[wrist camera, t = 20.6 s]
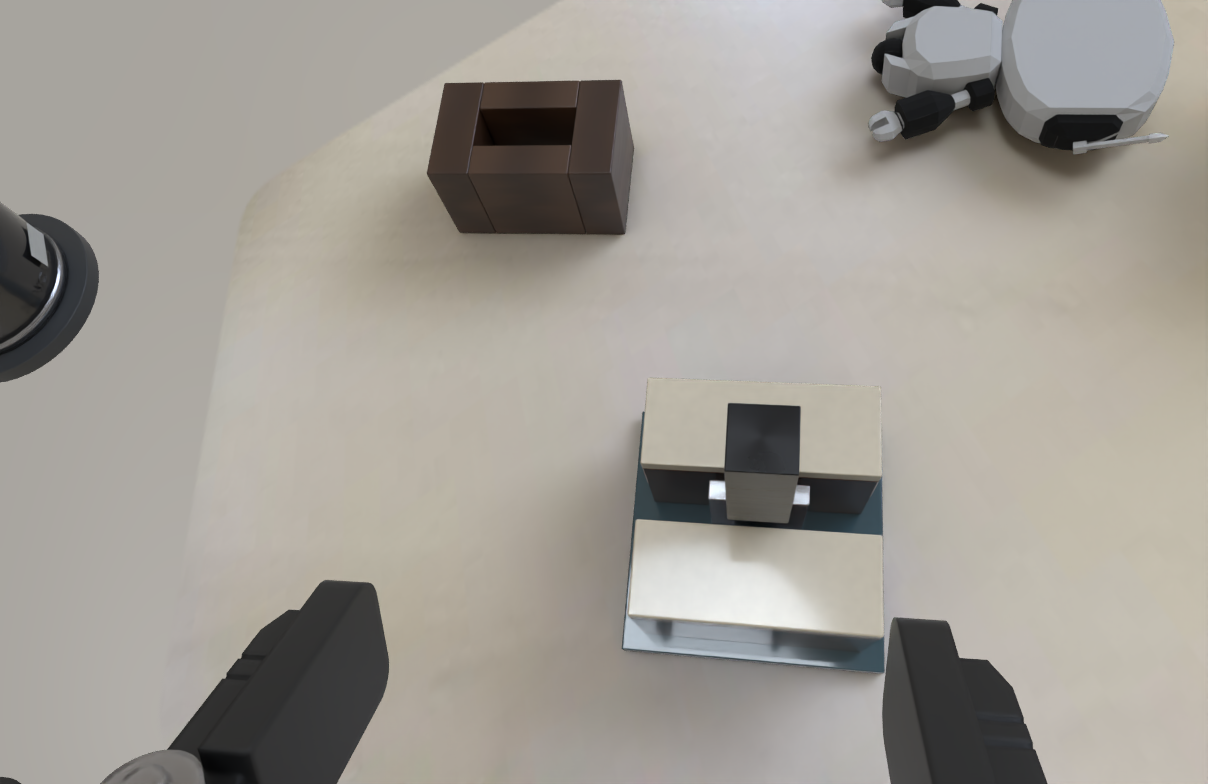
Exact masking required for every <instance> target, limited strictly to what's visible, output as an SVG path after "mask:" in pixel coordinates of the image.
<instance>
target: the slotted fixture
mask: <svg viewBox="0 0 1208 784" xmlns="http://www.w3.org/2000/svg"><path fill="white" fill-rule="evenodd" d="M728 403H745V404H768V405H791V406H800V407H801V423H800V468H799V478H798V482H797V485H803V486H810V504H809V508H808V511H807V514H806V518H805V521H804V524H803V528H802V530H797V529H781V528H766V527H751V526H736V525H720V524H712V522H711V515H710V508H709V500H708V493H709V481H710V480H717V481H725V475H724V464H725V445H726V427H727V408H728ZM622 649H623V650H624V651H633V652H644V653H655V654H666V655H677V656H688V657H699V658H710V659H721V660H732V661H743V662H754V663H765V664H775V665H786V666H797V667H808V668H819V669H830V670H841V671H852V672H863V673H874V674H882V673H884V672H885V668H884V587H883V507H882V426H881V387H880V386H857V385H831V384H804V383H778V382H752V381H726V380H700V379H673V378H648V381H647V392H646V404H645V412H643V413H642V424H641V436H640V447H639V458H638V470H637V481H636V492H635V504H634V515H633V526H632V538H631V549H630V560H629V572H628V583H627V595H626V606H625V617H624V629H623V640H622Z"/></svg>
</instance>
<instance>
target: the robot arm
mask: <svg viewBox="0 0 1208 784" xmlns="http://www.w3.org/2000/svg"><path fill="white" fill-rule="evenodd" d="M67 282H68V262H67V258H66V256H65V253H64V251H63V249H62V248H61V246H60V245H59V244H58V243H57V242H56V241H55V240H54V239H53V238H52V237H50V236H49V235H48V234H46V233H45V232H43V231H42V230H40V229H38V228H36V227H34V226H32V225H31V224H30V223H28V222H27V221H25V220H24V219H23V218H21V217H20V216H19V215H17V214H16V213H14V212H13V211H12V210H10V209H9V208H8V207H6V206H5V205H4V204H2V203H1V202H0V355H1V354H4V353H6V352H9V351H11V350H13V349H15V348H17V347H19V346H21V345H22V344H24V343H25V342H27V341H28V340H30V339H31V338H32V337H33V336H35V335H36V334H37V333H38V332H39V331H40V330H41V329H42V328H43V327H44V326H45V325H46V324H47V323H48V321H49V320H50V319H51V318H52V316H53V315H54V313H55V312H56V310H57V309H58V307H59V305H60V303H61V301H62V299H63V296H64V294H65V290H66V287H67ZM388 673H389V658H388V652H387V646H386V641H385V636H384V630H383V625H382V619H381V614H380V609H379V603H378V598H377V593H376V590H375V588H374V586H373V585H372V584H371V583H366V582H350V581H334V580H325V581H323V582H321V583H320V584H319V585H318V586H317V588H316V589H315V590H314V592H313V593H312V594H311V596H310V597H309V599H308V600H307V601H306V603H305V604H304V605H303V607H302V608H301V609H300V610H288V611H286V612H285V613H284V614H282V615H281V616H279V617H278V618H277V619H275V620H274V621H272V622H271V623H270V624H268V625H267V626H265V627H264V628H263V629H261V630H260V631H259V633H258V634H257V635H256V636H255V638H254V639H253V640H252V642H251V643H250V644H249V645H248V647H247V648H246V649H245V651H244V652H243V653H242V658H241V659H238V660H237V661H236V662H235V663H234V665H233V666H232V667H231V668H230V670H229V671H228V672H227V676H226V679H222V680H221V681H220V683H219V684H218V685H217V686H216V688H215V689H214V690H213V692H212V693H211V694H210V695H209V697H208V698H207V699H206V701H205V702H204V703H203V704H202V706H201V707H200V708H199V709H198V711H197V712H196V713H195V715H194V716H193V717H192V718H191V720H190V721H189V722H188V724H187V725H186V726H185V727H184V729H183V730H182V731H181V733H180V734H179V735H178V736H177V738H176V739H175V740H174V742H173V743H172V744H171V745H170V747H169V748H168V749H167V750H161V751H156V752H152V753H149V754H146V755H142V756H140V757H138V758H136V759H133V760H131V761H129V762H128V763H126V764H124V765H122V766H121V767H119V768H118V769H116V770H115V771H114V772H112V773H111V774H110V775H109V776H107V778H105V779H104V780H103V781H102V783H100V784H337V782H338V780H339V778H340V776H341V774H342V773H343V771H344V769H345V767H346V765H347V763H348V761H349V759H350V758H351V756H352V754H353V752H354V750H355V748H356V746H357V745H358V743H359V741H360V739H361V737H362V735H363V733H364V731H365V730H366V728H367V726H368V724H369V722H370V720H371V718H372V716H373V715H374V713H375V711H376V709H377V707H378V705H379V703H380V701H381V699H382V697H383V695H384V692H385V689H386V685H387V680H388ZM882 719H883V736H884V745H885V751H886V757H887V763H888V769H889V775H890V781H891V784H1047V781H1046V778H1045V776H1044V773H1043V770H1042V767H1041V765H1040V762H1039V759H1038V756H1037V754H1036V751H1035V750H1034V749H1033V742H1032V740H1031V737H1030V734H1029V731H1028V729H1027V726H1026V724H1024V718H1023V715H1022V712H1021V709H1020V707H1019V704H1018V701H1017V698H1016V695H1015V693H1014V690H1013V687H1012V686H1011V685H1010V684H1009V683H1008V682H1007V681H1006V680H1005V679H1004V678H1003V677H1002V675H1001V674H1000V673H999V672H998V671H997V670H996V669H995V668H994V667H993V666H992V665H991V663H990V662H989V661H988V660H979V659H965V658H959V656H958V652H957V649H956V646H955V642H954V639H953V636H952V632H951V629H950V626H949V624H948V622H947V621H941V620H926V619H910V618H893V620H892V623H891V629H890V638H889V647H888V656H887V666H886V675H885V684H884V693H883V709H882ZM0 784H21V783H19V782H18V781H17V780H14V779H11V778H6V777H0Z"/></svg>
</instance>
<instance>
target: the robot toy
mask: <svg viewBox="0 0 1208 784" xmlns="http://www.w3.org/2000/svg"><path fill="white" fill-rule="evenodd" d="M882 2H883V3H884V4H886V5H887V6H889V7H891V8H894V7H903V6H904V7H903V17H904V18H906V19H903V20H900V21H896V22H894V23H893V25H892V26H891V27H890V29H889V30H888V31H887V33H886V40H885V41H883V42H880V43H879V44H878V45H877V46H876V47H875V49H874V51H873V54H872V57H871V59H872V65H873V68H874V69H875V70H876V71H877V72H878V73H880V74H882V83H883V85H884V87H885V88H886V90H887V92H889V93H892V94H895V95H899V96H902V97H906V98H904V99H901V100H898V101H897V102H896V105H895V112H894V111H881V112H879V113H877V114H876V115H874V116H872V117H871V118H870V120H869V123H868V126H869V129H870V131H872V130H873V134H872V135H873V137H874V139H876V140H877V141H879V142H881V141H889V140H892V139H893V138H894V137H895V136H897V135H898V134H899V133H901V135H902V136H903V137H904V139H905V140H906V139H909V138H912V137H914V136H917V135H920V134H923V133H926V132H929V131H932V130H935V129H936V128H937V127H938V126H939V125H940V124H941V123H942V122H943V121H944V120H945V119H946V118H947V117H948V116H949V115H950V114H951V113H952V112H953V111H954V110H956V109H959V108H962V107H965V106H968V107H969V108H970V109H971V110H972V111H975V110H978V109H981V108H984V107H987V106H990V105H991V104H992V102H993V101H994V95H995V90H994V86H995V85H996V91H997V97H998V100H999V103H1000V106H1001V109H1002V112H1003V114H1004V116H1005V118H1006V120H1007V121H1008V122H1009V124H1010V125H1011V126H1012V127H1013V128H1014V129H1015V130H1016V131H1017V132H1018V134H1020V135H1022V136H1024V137H1026V138H1028V139H1030V140H1032V141H1034V142H1036V143H1041V145H1043V146H1046V147H1049V148H1057V149H1062V150H1073V154H1081V153H1087V150H1095V149H1099V148H1106V147H1114V146H1122V145H1130V144H1137V143H1145V142H1149V143H1156V142H1161V141H1163V140H1164V139H1166V138H1167V137H1169V136H1168V135H1165V134H1163V133H1154V134H1149V136H1141V137H1133V138H1126V137H1129V136H1132V135H1134V134H1135V133H1136V132H1137V131H1138V129H1139V128H1140V127H1141V126H1142V125H1143V124H1144V123H1145V122H1146V121H1147V119H1148V117H1149V115H1150V113H1151V111H1152V110H1153V108H1154V106H1155V104H1156V102H1157V100H1158V98H1159V96H1160V94H1161V93H1162V91H1163V88H1164V85H1165V83H1166V80H1167V77H1168V74H1169V69H1170V63H1171V58H1172V52H1173V46H1174V39H1173V35H1172V32H1171V28H1170V24H1169V21H1168V17H1167V13H1166V10H1165V8H1164V6H1163V4H1162V2H1161V0H1012V2H1011V5H1010V7H1009V9H1008V12H1007V14H1006V17H1005V21H1004V25H1003V29H1002V20H1001V19H1000V18H999V17H998V16H997V13H998V8H995V7H992V6H988V5H985V4H982V3H980V4H979V5H978V6H976V7H975V8H974V9H971V8H968V7H965V6H962V5H960V3H959V2H958V0H882ZM1124 138H1125V139H1124Z"/></svg>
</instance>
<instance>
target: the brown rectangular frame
mask: <svg viewBox="0 0 1208 784" xmlns="http://www.w3.org/2000/svg"><path fill="white" fill-rule="evenodd" d="M633 152H634V146H633V140H632V135H631V129H630V124H629V118H628V113H627V107H626V102H625V96H624V91H623V85H622V81H621V80H591V81H539V82H487V83H445V85H444V90H443V95H442V100H441V105H440V110H439V115H438V120H437V125H436V130H435V135H434V140H433V145H432V150H431V155H430V160H429V165H428V170H427V175H428V177H429V179H430V180H431V182H432V184H433V186H434V187H435V189H436V191H437V193H438V195H439V196H440V198H441V200H442V202H443V204H444V205H445V207H446V209H447V211H448V213H449V214H450V216H451V218H452V220H453V221H454V223H455V225H456V227H457V229H458V230H459V232H468V233H496V232H497V233H551V234H586V233H587V234H625V230H626V220H627V210H628V201H629V191H630V181H631V172H632V162H633Z"/></svg>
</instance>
